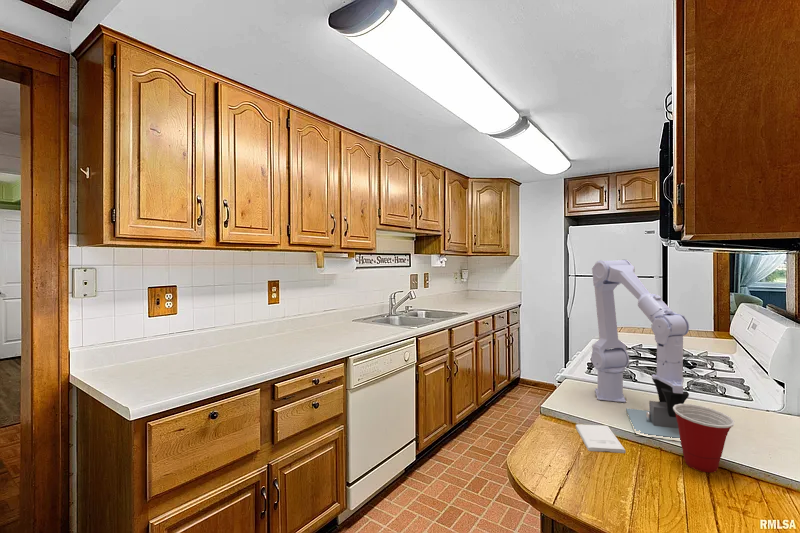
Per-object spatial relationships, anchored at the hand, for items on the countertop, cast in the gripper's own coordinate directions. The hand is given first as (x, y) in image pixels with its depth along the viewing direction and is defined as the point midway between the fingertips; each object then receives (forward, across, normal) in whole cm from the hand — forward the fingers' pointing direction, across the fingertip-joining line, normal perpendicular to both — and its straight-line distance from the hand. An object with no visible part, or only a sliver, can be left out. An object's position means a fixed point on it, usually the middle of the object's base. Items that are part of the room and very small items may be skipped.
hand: (669, 410), depth 106 cm
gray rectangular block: (+4, 0, -1) cm, 4 cm away
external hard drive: (+5, +12, -18) cm, 23 cm away
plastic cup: (+5, +19, +1) cm, 20 cm away
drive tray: (+5, 0, 0) cm, 5 cm away
